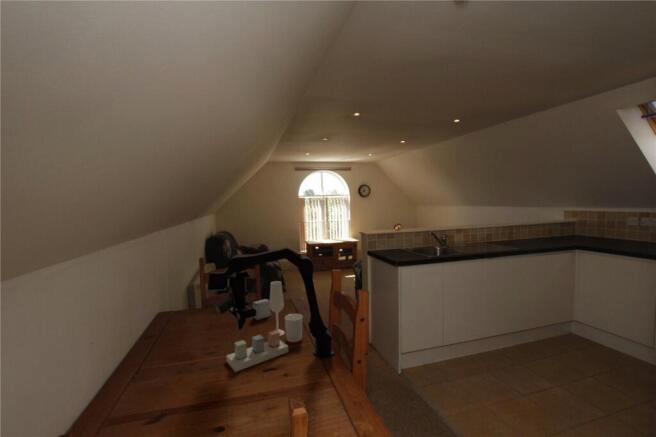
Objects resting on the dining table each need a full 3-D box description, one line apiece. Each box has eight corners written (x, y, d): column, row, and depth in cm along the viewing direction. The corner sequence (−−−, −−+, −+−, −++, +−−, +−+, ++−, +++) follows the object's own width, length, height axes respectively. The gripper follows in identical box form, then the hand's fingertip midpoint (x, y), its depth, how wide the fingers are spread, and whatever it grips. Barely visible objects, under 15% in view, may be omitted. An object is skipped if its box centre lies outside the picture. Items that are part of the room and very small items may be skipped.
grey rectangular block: (264, 350, 116) (263, 337, 115) (255, 352, 113) (255, 340, 113) (260, 346, 118) (259, 334, 118) (252, 349, 116) (251, 337, 116)
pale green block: (247, 355, 111) (246, 343, 111) (238, 359, 109) (237, 346, 109) (243, 352, 114) (243, 339, 114) (235, 355, 112) (234, 342, 112)
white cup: (300, 343, 126) (299, 320, 126) (282, 342, 128) (282, 319, 127) (305, 335, 134) (304, 314, 133) (288, 334, 135) (288, 313, 135)
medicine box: (266, 314, 161) (265, 298, 161) (270, 316, 158) (270, 300, 157) (253, 318, 156) (252, 302, 155) (257, 320, 153) (256, 304, 152)
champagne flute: (286, 334, 135) (284, 283, 134) (271, 337, 133) (269, 285, 131) (283, 329, 141) (281, 279, 140) (269, 331, 139) (267, 281, 138)
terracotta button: (279, 344, 120) (279, 332, 120) (272, 347, 118) (271, 334, 118) (275, 341, 123) (275, 329, 122) (268, 344, 120) (268, 332, 120)
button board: (288, 351, 119) (288, 345, 119) (235, 371, 106) (235, 365, 106) (277, 343, 126) (277, 338, 126) (226, 361, 113) (226, 355, 113)
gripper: (209, 287, 113) (210, 327, 113) (225, 299, 98) (227, 345, 99) (237, 282, 120) (238, 320, 120) (256, 292, 105) (258, 335, 106)
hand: (240, 329), depth 111 cm, fingers closed
